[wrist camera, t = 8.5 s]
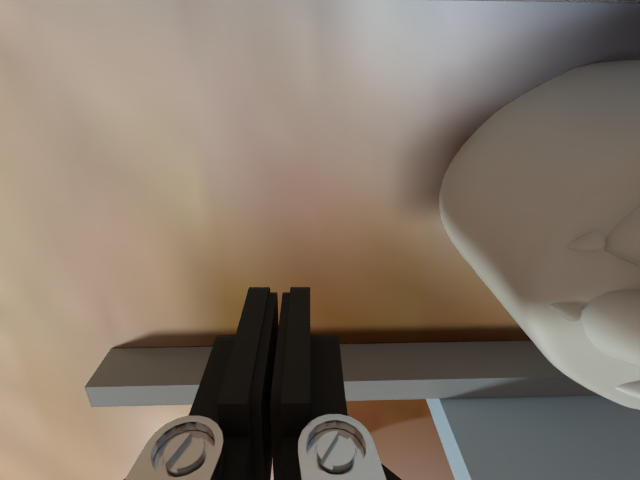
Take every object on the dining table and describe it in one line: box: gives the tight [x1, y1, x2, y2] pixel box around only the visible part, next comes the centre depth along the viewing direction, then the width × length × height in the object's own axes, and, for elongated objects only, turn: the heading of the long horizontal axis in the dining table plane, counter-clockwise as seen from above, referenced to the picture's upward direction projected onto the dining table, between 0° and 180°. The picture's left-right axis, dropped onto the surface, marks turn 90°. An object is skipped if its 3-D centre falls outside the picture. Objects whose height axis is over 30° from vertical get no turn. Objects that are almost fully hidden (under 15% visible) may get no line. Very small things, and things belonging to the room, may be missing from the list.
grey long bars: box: [85, 0, 640, 407], centre depth 15 cm, size 28×17×2 cm, turn 90°
